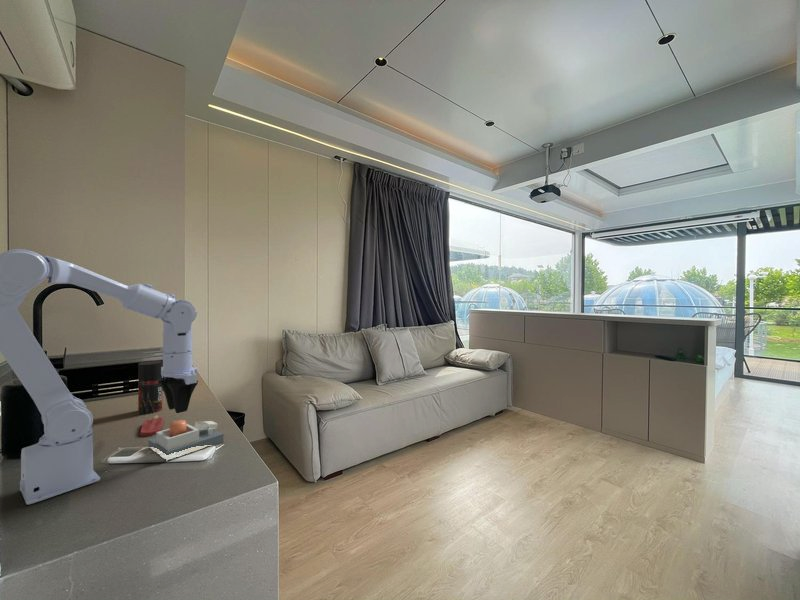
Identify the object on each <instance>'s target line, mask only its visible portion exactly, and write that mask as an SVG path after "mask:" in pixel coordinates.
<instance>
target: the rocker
mask: <svg viewBox="0 0 800 600" xmlns="http://www.w3.org/2000/svg"><path fill="white" fill-rule="evenodd" d="M218 425H219V424H218V423H217V422H215V421H213V420H205V421H203V420H202V421H195V422H194V427H195V428H197V429H199V430H208V429H209V428H213V429H215V430H217V429H218Z"/></svg>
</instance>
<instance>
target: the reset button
mask: <svg viewBox="0 0 800 600" xmlns="http://www.w3.org/2000/svg"><path fill="white" fill-rule="evenodd" d="M186 424H187V420H185V419H178V420H173V421H171V422H170V423H169V429H170V437H173V436H177V435H180V434H183V433H186Z"/></svg>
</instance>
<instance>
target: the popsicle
mask: <svg viewBox="0 0 800 600" xmlns="http://www.w3.org/2000/svg"><path fill="white" fill-rule="evenodd" d="M164 424H165V417H164V416H163V417H159V415H158V414H157V415H154V416H153V418H150V419H144V420H143V423H142V425H141V428H140V437H143V438H145V437H146V438H147V437H152V436H157V432H159V431H162V429H163V426H164Z"/></svg>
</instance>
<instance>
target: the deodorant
mask: <svg viewBox="0 0 800 600" xmlns="http://www.w3.org/2000/svg"><path fill="white" fill-rule="evenodd" d="M137 365H138V366H137V368H138V371H137V372H138V373H137V376H138V377H137V378H138V380H137V381H138V385H137V388H138V391H137V392H138V407H137V408H138V409H137V410H138V412H139V413H141V414H140V415H148V414H149V413H150V414H155V413H158V412H161V411H162V410H163V389H162V387H161V385H160V384H159V383H158V380H161V379H163V376H162V375H161V367H163V360H148V361H142V362H139V363H138V364H137ZM160 410H161V411H160ZM138 412H137V413H138ZM154 412H155V413H154ZM139 413H138V414H139Z"/></svg>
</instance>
